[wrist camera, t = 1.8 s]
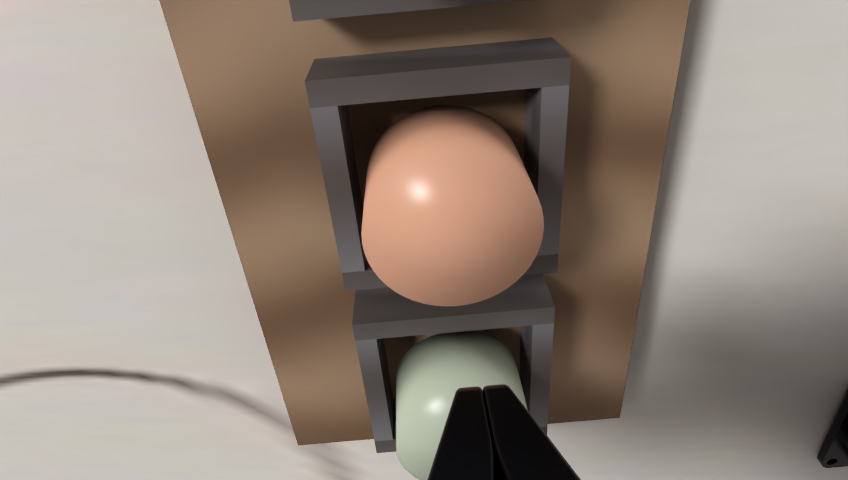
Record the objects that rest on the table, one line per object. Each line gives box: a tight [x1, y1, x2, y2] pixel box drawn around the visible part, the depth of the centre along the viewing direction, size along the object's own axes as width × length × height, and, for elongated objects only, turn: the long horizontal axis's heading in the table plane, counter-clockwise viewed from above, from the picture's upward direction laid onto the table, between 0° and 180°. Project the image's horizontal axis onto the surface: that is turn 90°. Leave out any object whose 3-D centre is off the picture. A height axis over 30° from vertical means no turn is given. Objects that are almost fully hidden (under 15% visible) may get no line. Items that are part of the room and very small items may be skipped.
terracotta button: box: [361, 105, 544, 306], centre depth 15 cm, size 4×4×3 cm
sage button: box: [396, 331, 528, 480], centre depth 19 cm, size 4×4×3 cm
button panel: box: [160, 0, 690, 453], centre depth 17 cm, size 26×14×4 cm, turn 4°
